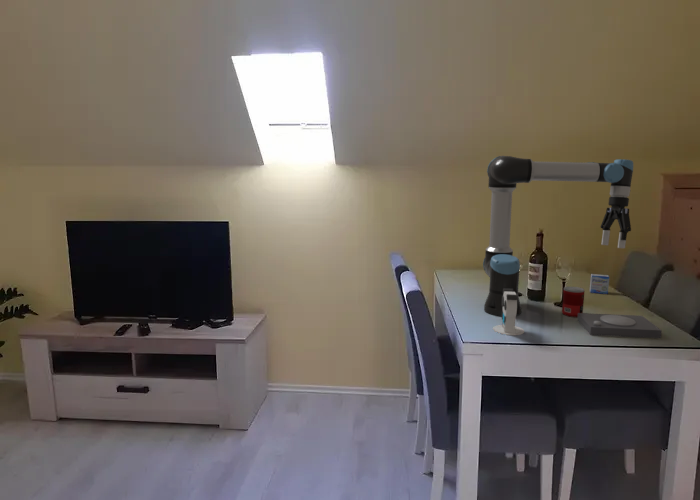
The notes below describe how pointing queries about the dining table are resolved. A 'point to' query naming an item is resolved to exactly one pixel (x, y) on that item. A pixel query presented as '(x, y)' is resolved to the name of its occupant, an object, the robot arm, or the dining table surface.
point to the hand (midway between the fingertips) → (612, 246)
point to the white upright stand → (509, 314)
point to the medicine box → (599, 284)
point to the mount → (618, 325)
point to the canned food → (572, 301)
